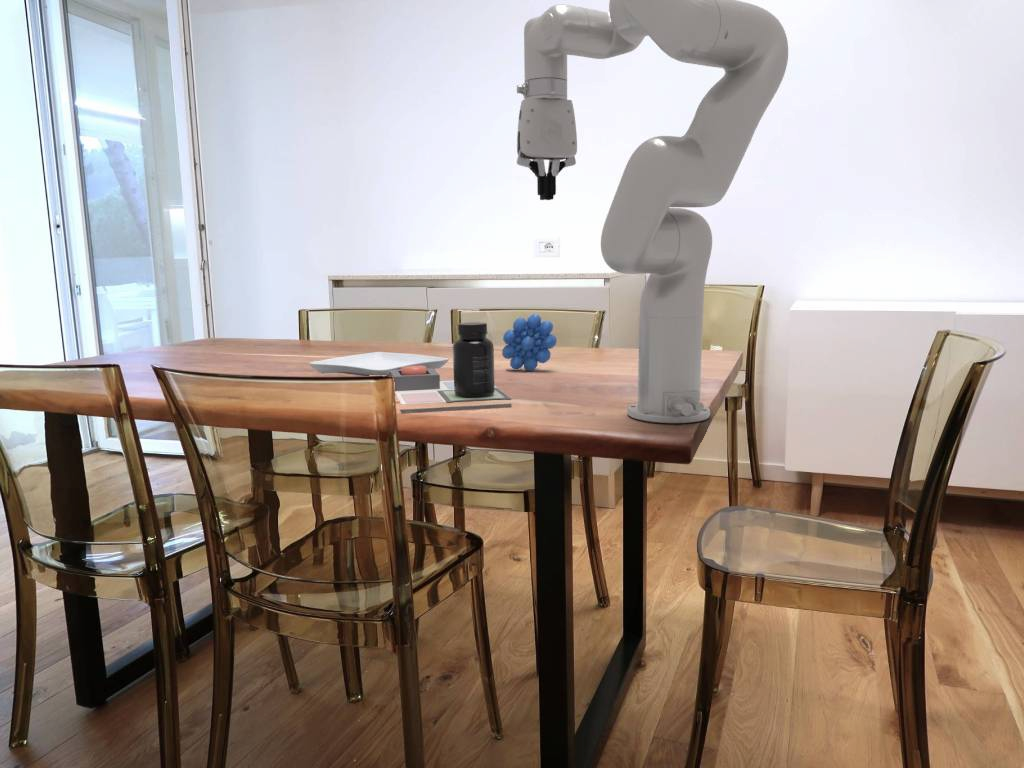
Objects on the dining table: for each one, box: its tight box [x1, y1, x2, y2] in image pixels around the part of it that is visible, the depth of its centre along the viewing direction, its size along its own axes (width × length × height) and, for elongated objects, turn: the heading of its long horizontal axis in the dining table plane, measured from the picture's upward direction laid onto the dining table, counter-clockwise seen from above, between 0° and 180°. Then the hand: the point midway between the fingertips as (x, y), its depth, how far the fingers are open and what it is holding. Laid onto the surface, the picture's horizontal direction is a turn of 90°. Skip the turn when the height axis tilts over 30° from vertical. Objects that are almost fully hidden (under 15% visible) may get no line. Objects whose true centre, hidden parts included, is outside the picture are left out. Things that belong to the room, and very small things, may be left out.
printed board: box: [394, 380, 512, 414], centre depth 143 cm, size 21×18×2 cm
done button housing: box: [389, 368, 441, 391], centre depth 148 cm, size 8×8×2 cm
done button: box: [401, 366, 426, 375], centre depth 148 cm, size 4×4×2 cm
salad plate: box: [308, 351, 450, 376], centre depth 172 cm, size 21×21×3 cm
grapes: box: [501, 313, 558, 372], centre depth 174 cm, size 12×7×12 cm, turn 77°
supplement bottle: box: [452, 321, 496, 398], centre depth 138 cm, size 7×7×12 cm
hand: (546, 199), depth 149 cm, fingers closed
